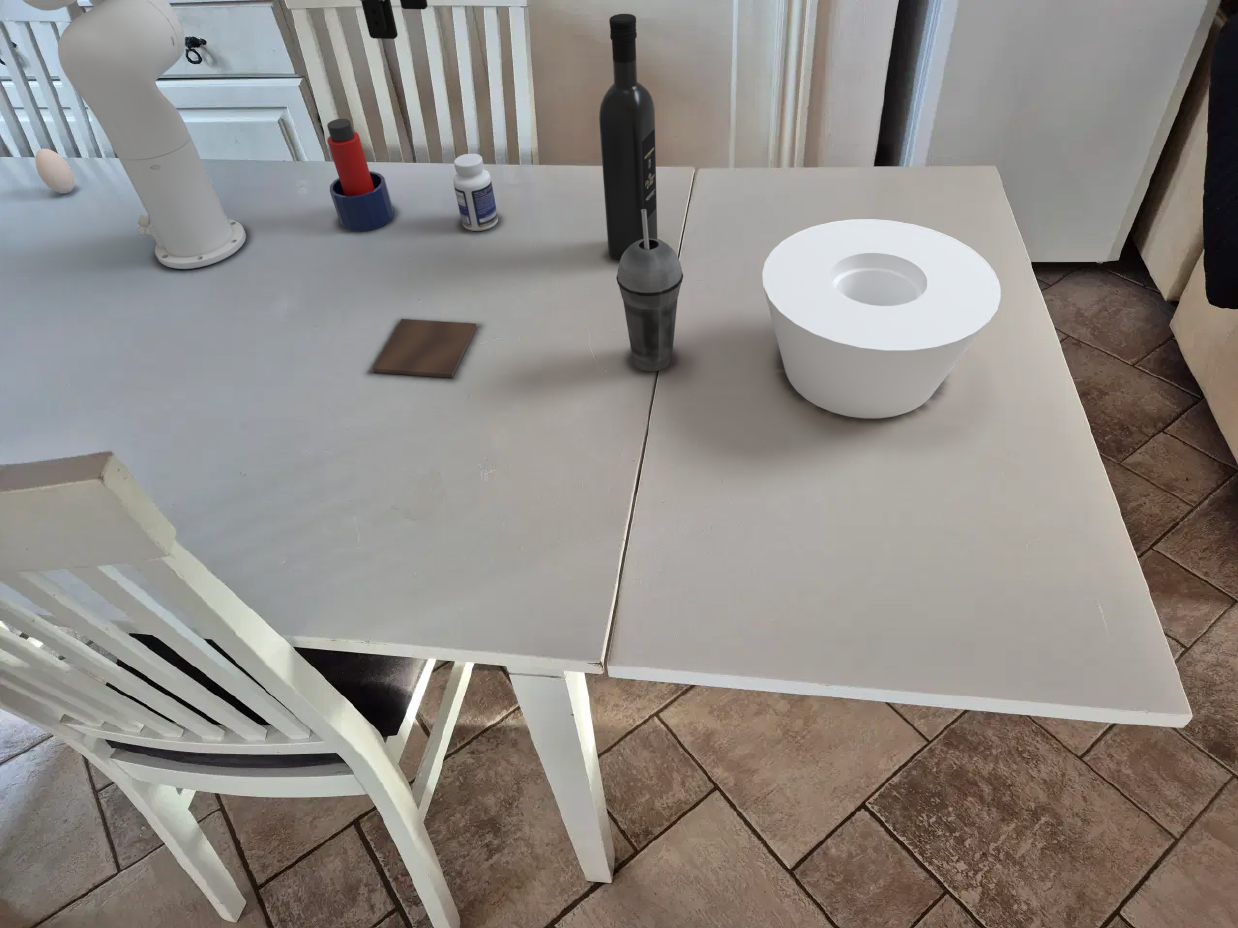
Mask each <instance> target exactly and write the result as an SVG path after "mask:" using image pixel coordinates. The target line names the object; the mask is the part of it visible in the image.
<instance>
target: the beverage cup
mask: <svg viewBox="0 0 1238 928" xmlns="http://www.w3.org/2000/svg"><path fill="white" fill-rule="evenodd" d="M641 211H642V223H643V235H644V239H642V240H639V241H637V242H635V243H633V244H632V245H630V246H629V247H628V248H627V250H626V251H625V252H624V253H623V255H622V257H621V260H619V262H618V266H617V274H616V278H615V279H616V282H617V285H618V288H619V292H620V296H621V298H622V301H623V302H622V303H623V307H624V308H623V309H624V314H625V320H626V327H627V332H628V339H629V344H630V351H631V354H632V359H633V364H634V366H635V367H636V368H638V369H639V370H642V371H645V372H659V371H661V370H664V369H666V368H668V367H669V365H670V364H671V361H672V354H673V350H674V341H675V340H674V339H675V330H676V322H677V321H676V320H677V311H678V310H677V308H678V300H679V299H678V298H679V295H680V290H681V286H682V283H683V280H684V272H683V269H682V265H681V261H680V258H679V256H678V253H676V250H675V249H673V247H671V246H670V245H669V244H668V243H667V242H665V241H663V240H661V239H658V238H657V239H653V238H648V226H647V214H646V209H642V210H641Z"/></svg>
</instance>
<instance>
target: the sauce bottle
mask: <svg viewBox="0 0 1238 928" xmlns="http://www.w3.org/2000/svg"><path fill="white" fill-rule="evenodd" d="M326 127H327V130H328V134H329V136H328V137H327V139H326V142H327V144H328V148H329V151H330V154H331V158H332V161H333V164H334V167H335V170H336V172H337V176H338V178H339V179H340V182H341V185H342V188H343V192H344V195H345V196H356V195H362V194H365V193H368V192H371V191H372V190H374V186H373V182H372V179H371V176H370V172H369V171H370V169H369V165H368V161H367V158H366V156H365V152H364V148H363V146H362V141H361V137H360V135H359V133H358V132H357V131H354V130H353V126H352V122H351V120H350V119H348V118H337V119H333V120H331V121H329V122H328V123H327V125H326Z"/></svg>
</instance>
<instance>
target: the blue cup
mask: <svg viewBox="0 0 1238 928" xmlns="http://www.w3.org/2000/svg"><path fill="white" fill-rule="evenodd" d="M369 172H370V176H371V179H372V182H373V186H374V190H372V191H371V192H368V193H365V194H362V195H356V196H345V195H344V192H343V188H342V185H341V182H340V179H339V177H338V178H336V179H335V180H333V181H332V183H331V184H329V194H330V197H331V199H332V202H333V206H334V209H335V212H336V215H337V218H338V220H339V223H340V225H341V226H342V228H344V229H345V230H347V231H351V232H369V231H374V230H377V229H379V228H382V227H384V226H385V225H387V224H388V223H390V222H391V221H392V220H393V219H394V215H395V213H394V208H393V207H394V206H393V204H392V199H391V196H390V192H389V189H388V185H387V182H386V178H385V177H384V176H383V174H381V173H379V172H376V171H371V170H369Z"/></svg>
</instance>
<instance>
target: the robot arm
mask: <svg viewBox="0 0 1238 928" xmlns="http://www.w3.org/2000/svg"><path fill="white" fill-rule="evenodd" d="M22 1H23V2H24V3H25V4H27V5H28V6H29V7H32V8H35V9H38V10H40V11H47V12H48V11H57V10H60V9H62V8H66V7H68V6H71V5H72V4H74V3H75V2H77V1H78V0H22ZM88 1H89V3H90V4H91V5H92V6H93V7H92V8H90V9H89V10H87V11H85V12H84V13H82V14H80V15H79V16H78V17H76V18H75V19H73V20H72V21H71V22H70V23H69V24H67V26H66V27H65V28H64V30H63V31H62V33H61V35H60V37H59V39H58V44H57V56H58V61H59V64H60V68H61V69H62V71H63V73H64V75H65V77H66V78H67V81H69V82H70V84H71V85H72V87H73V88H74V90H75V91H76V92H77V93H78V95H79V96H80V97H81V98H82V100H83V101H84V102H85V104H86V105H87V107H88V108H89V109H90V111H91V112H92V114H93V115H94V118H96V120H97V122H98V124H99V125H100V127H101V129H102V131H103V132H104V134H105V136H106V137H107V139H108V142H109V143H110V145H111V147H112V149H113V151H114V153H115V155H116V156H117V158H118V160H119V162H120V164H121V166H122V167H123V170H124V171H125V173H126V175H127V177H128V180H129V181H130V183H131V185H132V187H133V189H134V191H135V193H136V194H137V196H138V198H139V200H140V202H141V204H142V206H143V208H144V210H145V212H146V214H147V215H145V214H144V215H143V214H142V215H139V217H138V218H137V223H138V226H137V228H136V232H137V233H136V234H137V235H138V236H139V237H152V238H153V240H154V241H155V243H156V244H155V247H154V253H155V257H156V258H157V260H158V262H159V263H161V264H162V265H163V266H165V267H168V268H172V269H176V270H177V269H179V270H189V269H197V268H203V267H207V266H211V265H213V264H216V263H219V262H220V261H224V260H226V259H227V258H229V257H231V256H232V255H234V254H235V253H236V252H238V251H239V250H240V249H241V248H242V247H243V245H244V243H245V242H246V238H247V233H246V231H245V229H244V226H243V225H242V224H241V223H240V222H238V221H237V220H234V219H231V218H228V217H227V214H226V213H225V209H224V208H223V205H222V203H221V201H220V198H219V197H218V194H217V191H216V190H215V188H214V185H213V183H212V181H211V178H210V176H209V174H208V172H207V169H206V167H205V165H204V163H203V160H202V158H201V156H200V153H199V151H198V149H197V147H196V144H195V142H194V140H193V137H192V136H191V133H190V131H189V130H188V127H187V124H186V123H185V121H184V119H183V117H182V115H181V113H180V112H179V111H178V109H177V107H175V105H174V104H173V103H172V102H171V101H170V100H169V99H168V98H167V97H166V96H165V95H164V93H163V92H162V91H161V90H160V88H159V87H158V85H157V83H156V82H157V81H158V79H160V77H161V76H163V75H164V74H166V72H167V71H168V70H170V69H171V68H172V67H173V66H174V65H176V63H177V62H178V61H179V60H180V59H181V58H182V56H183V54H184V52H185V49H186V48H185V47H186V36H185V35H186V34H185V32H184V28H183V25H182V23H181V21H180V19H179V17H178V15H177V13H176V12H175V10H174V8H173V7H172V5H171V4H170V2H169V1H168V0H88ZM359 1H360V3H361V5H362V6H361V7H362V11H363V15H364V19H365V23H366V27H367V32H368V35H369V37H370V38H371V39H377V40H378V39H379V40H395V39H397V37H398V35H399V34H398V28H397V23H396V21H395V20H396V19H395V15H394V12H393V7H392V2H391V0H359ZM399 2H400V7H401V8H402V9H403V10H426V9H427V8H428V0H399Z"/></svg>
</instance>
